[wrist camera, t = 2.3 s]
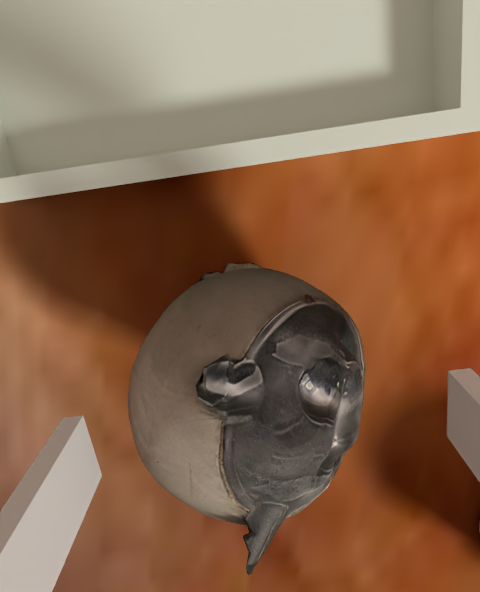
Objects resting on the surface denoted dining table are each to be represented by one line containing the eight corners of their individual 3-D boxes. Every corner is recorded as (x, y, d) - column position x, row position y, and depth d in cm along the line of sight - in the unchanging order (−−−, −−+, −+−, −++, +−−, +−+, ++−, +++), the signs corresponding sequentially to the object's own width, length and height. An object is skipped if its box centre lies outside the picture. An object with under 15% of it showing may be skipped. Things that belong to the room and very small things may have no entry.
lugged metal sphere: (366, 350, 25) (277, 201, 22) (479, 522, 14) (329, 262, 10) (223, 428, 27) (122, 299, 23) (218, 639, 15) (22, 444, 12)
